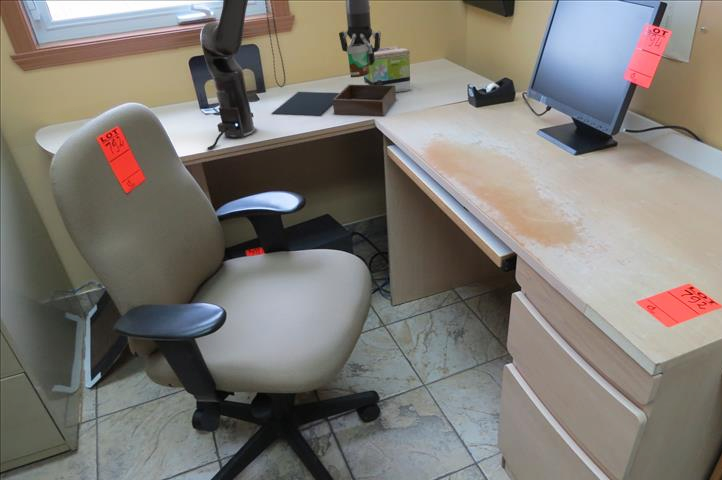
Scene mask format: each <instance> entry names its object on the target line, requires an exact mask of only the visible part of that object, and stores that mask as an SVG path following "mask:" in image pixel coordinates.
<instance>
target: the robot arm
mask: <svg viewBox="0 0 722 480" xmlns="http://www.w3.org/2000/svg"><path fill="white" fill-rule="evenodd" d="M248 4H249V0H222V7H221V12H220V16H219V20H218V22H217V21H210V22H207V23H205V25H203V26H202V28H201V30H200V44H201V49H202V53H203V57H204V59H205V60H204V61H205V63H206V67H207V70H208V72H209V74H210V75H211V77H212V81H213V84H214V89H215V93H216V99H217V103H218V112H219V116H220V121H221V122H219V123H217V130H218V133H219V134H218V135H217V137H216V138H215V141H214V142H213V144H212V145H210V146H208V147H206V149H207V150H212V149H214V148H215V147H216V146H217V144H218V143H219V140H220V138H221V137H222V136H223V135H224V137H225V138H241V139H242V138H244V137H247V136H249V135H252V134H253V133H255V131H256V127H255V125H254V112H252V110H251V109H252V108H251V106H250V100H249V96H248V90H247V86H246V80H245V76H244V75H245V74H244V71H243V68H242V67H241V65H240V64H239V63H238V62H237V61H236V59H235V58H234V57H236V56H237V54H239V52H240V50H241V47H242V44H243V37H244V28H245V19H246V13H247V7H248ZM345 12H346V25H347V30H345V31H344V30H341V31H340V32H339V33H338V36H339V41H340V44H341V50H342V51H343V52H346V53H347V47H351V46H353V45H355V44H366V46H367V47H368V49H369V50H368V51H369V65H373V63H374V61H375V58H374V52H377V51H378V50H379V49H380V48H381V34H382V33H381V31H373V30H372V26H371V25H372V23H371V6H370V0H345ZM348 37H349V39H350V41H349V44H348V41H347V39H348ZM371 37H372V38H373V39H374V46H373V43H372V41H371ZM368 42H369V43H368Z"/></svg>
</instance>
